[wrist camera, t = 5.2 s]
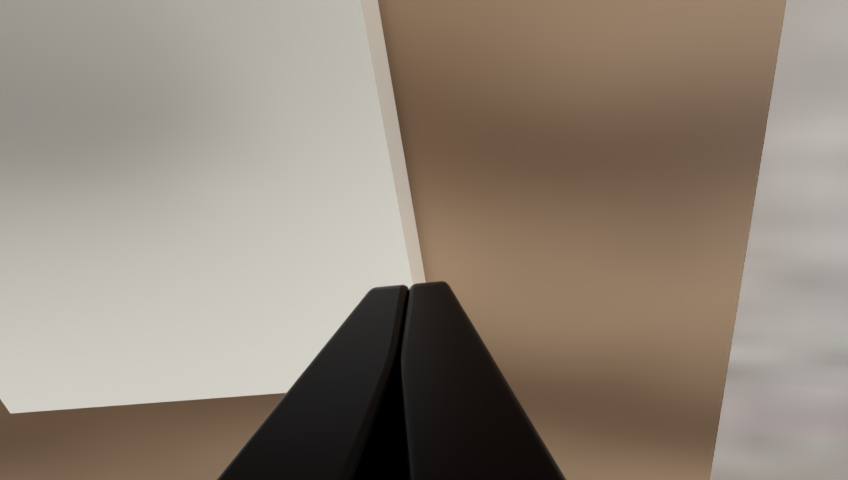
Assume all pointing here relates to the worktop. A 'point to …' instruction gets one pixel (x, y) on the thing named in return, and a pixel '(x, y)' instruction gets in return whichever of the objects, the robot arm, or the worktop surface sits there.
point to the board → (538, 231)
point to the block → (191, 194)
